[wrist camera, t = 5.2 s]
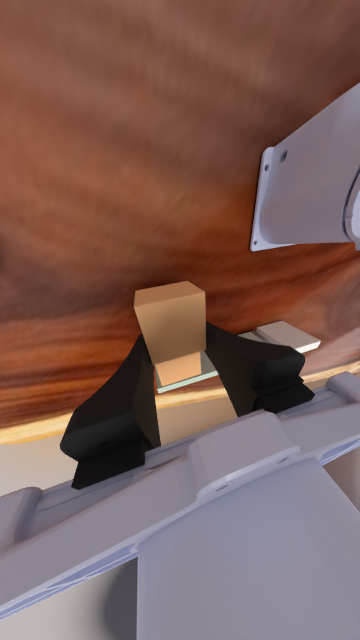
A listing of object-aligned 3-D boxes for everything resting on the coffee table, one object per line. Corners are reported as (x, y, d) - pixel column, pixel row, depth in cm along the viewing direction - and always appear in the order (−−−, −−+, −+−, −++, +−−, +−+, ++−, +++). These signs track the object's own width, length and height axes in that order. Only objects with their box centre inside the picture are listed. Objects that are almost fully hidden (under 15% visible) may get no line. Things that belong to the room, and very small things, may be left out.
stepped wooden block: (135, 290, 11) (133, 307, 8) (187, 280, 11) (204, 291, 8) (159, 371, 16) (164, 400, 13) (194, 360, 16) (206, 385, 13)
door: (153, 357, 23) (156, 388, 18) (255, 329, 26) (283, 349, 21) (156, 364, 24) (159, 396, 19) (254, 337, 27) (280, 358, 22)
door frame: (126, 362, 22) (120, 404, 16) (281, 320, 27) (321, 340, 21) (128, 368, 23) (124, 410, 17) (280, 326, 28) (317, 347, 22)
